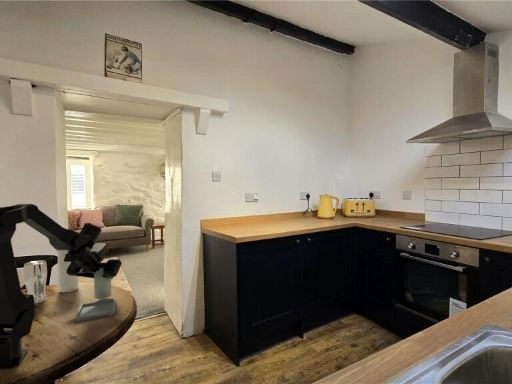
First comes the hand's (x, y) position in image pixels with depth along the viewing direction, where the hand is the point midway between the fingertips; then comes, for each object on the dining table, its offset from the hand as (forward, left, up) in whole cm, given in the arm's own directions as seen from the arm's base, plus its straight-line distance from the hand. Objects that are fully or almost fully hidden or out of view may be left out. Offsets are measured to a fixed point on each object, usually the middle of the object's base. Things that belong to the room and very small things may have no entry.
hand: (105, 277), depth 108 cm
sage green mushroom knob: (-1, +1, -7) cm, 7 cm away
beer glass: (+9, +24, -8) cm, 27 cm away
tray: (-11, +2, -8) cm, 14 cm away
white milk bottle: (+17, +15, -8) cm, 24 cm away
